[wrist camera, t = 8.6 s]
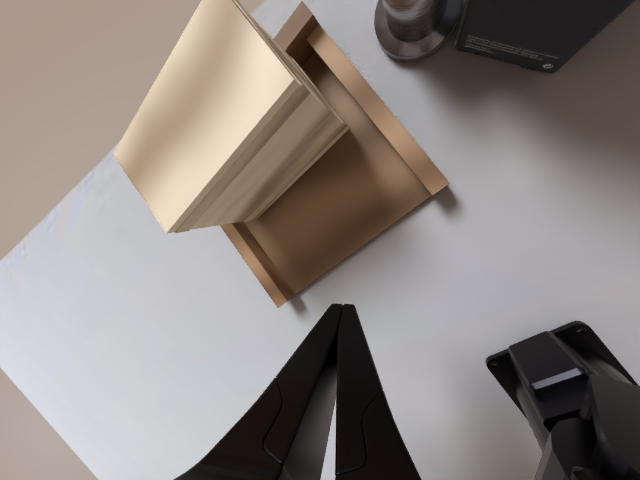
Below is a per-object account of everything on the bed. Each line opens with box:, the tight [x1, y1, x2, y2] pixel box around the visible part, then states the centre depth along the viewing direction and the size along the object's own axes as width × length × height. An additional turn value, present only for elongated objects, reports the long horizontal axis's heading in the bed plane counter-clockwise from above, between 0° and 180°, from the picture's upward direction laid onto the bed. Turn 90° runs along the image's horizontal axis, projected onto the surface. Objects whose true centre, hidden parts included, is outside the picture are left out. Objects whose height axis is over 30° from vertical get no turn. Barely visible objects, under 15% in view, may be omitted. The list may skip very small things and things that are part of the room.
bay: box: [220, 1, 449, 308], centre depth 21 cm, size 15×16×3 cm
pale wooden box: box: [113, 0, 349, 233], centre depth 17 cm, size 6×11×9 cm, turn 130°
